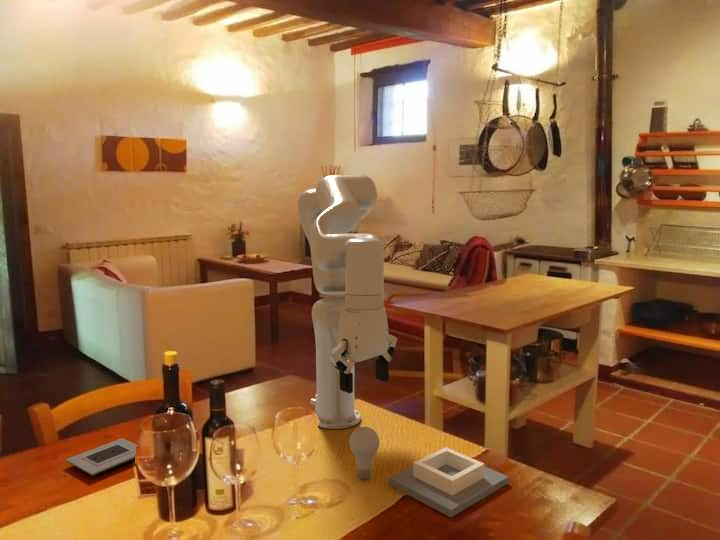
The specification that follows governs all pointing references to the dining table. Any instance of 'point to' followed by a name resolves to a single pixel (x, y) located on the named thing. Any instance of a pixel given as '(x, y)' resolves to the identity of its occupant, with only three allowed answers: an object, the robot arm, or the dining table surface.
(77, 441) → the dining table surface
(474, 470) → the lamp base
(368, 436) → the lightbulb
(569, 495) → the dining table surface
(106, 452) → the electrical outlet
